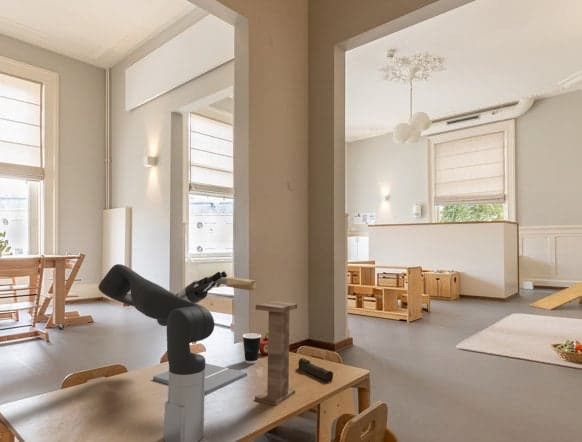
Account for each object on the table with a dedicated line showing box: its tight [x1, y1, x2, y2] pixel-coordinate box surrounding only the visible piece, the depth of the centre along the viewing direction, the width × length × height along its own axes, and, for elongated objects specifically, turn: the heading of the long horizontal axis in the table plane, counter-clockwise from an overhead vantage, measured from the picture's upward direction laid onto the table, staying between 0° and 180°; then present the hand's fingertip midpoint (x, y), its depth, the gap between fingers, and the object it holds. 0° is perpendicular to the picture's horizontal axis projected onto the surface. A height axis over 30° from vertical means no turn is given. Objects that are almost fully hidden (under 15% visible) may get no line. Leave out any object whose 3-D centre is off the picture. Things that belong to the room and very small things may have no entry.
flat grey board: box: [152, 362, 248, 396], centre depth 147 cm, size 22×26×1 cm
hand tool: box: [298, 357, 334, 383], centre depth 152 cm, size 19×4×5 cm, turn 33°
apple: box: [259, 330, 268, 355], centre depth 179 cm, size 8×7×10 cm
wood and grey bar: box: [214, 276, 257, 291], centre depth 141 cm, size 4×19×3 cm, turn 59°
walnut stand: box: [254, 300, 298, 406], centre depth 130 cm, size 12×10×30 cm
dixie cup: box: [242, 332, 262, 364], centre depth 167 cm, size 8×8×11 cm
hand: (223, 273), depth 144 cm, fingers closed on wood and grey bar, 2 cm apart
